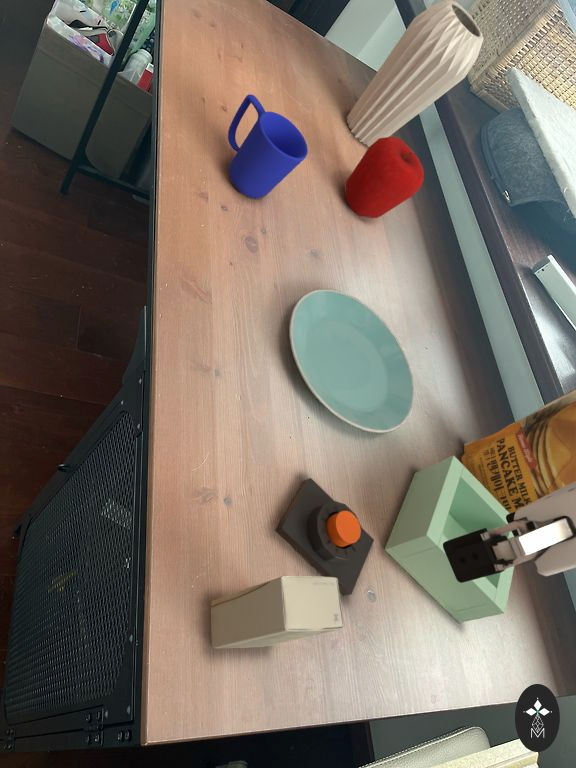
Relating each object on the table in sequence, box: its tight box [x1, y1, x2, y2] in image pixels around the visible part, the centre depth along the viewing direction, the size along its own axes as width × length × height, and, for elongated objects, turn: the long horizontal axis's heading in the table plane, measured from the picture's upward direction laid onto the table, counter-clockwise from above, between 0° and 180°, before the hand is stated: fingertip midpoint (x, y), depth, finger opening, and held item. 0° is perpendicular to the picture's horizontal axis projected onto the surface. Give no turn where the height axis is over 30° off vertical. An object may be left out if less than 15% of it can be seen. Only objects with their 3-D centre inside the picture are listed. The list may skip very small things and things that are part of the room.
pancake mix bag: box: [460, 388, 576, 513], centre depth 83 cm, size 7×19×28 cm, turn 8°
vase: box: [346, 0, 485, 148], centre depth 113 cm, size 13×13×26 cm
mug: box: [227, 93, 309, 199], centre depth 88 cm, size 8×12×10 cm
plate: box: [288, 288, 416, 434], centre depth 85 cm, size 22×22×3 cm
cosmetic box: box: [210, 575, 345, 649], centre depth 55 cm, size 6×4×12 cm
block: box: [275, 477, 375, 597], centre depth 70 cm, size 11×8×3 cm
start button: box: [326, 511, 361, 547], centre depth 68 cm, size 4×4×2 cm
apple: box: [345, 136, 425, 219], centre depth 104 cm, size 11×10×14 cm
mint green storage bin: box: [384, 455, 515, 624], centre depth 79 cm, size 14×14×7 cm
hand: (484, 546), depth 51 cm, fingers open, 9 cm apart
